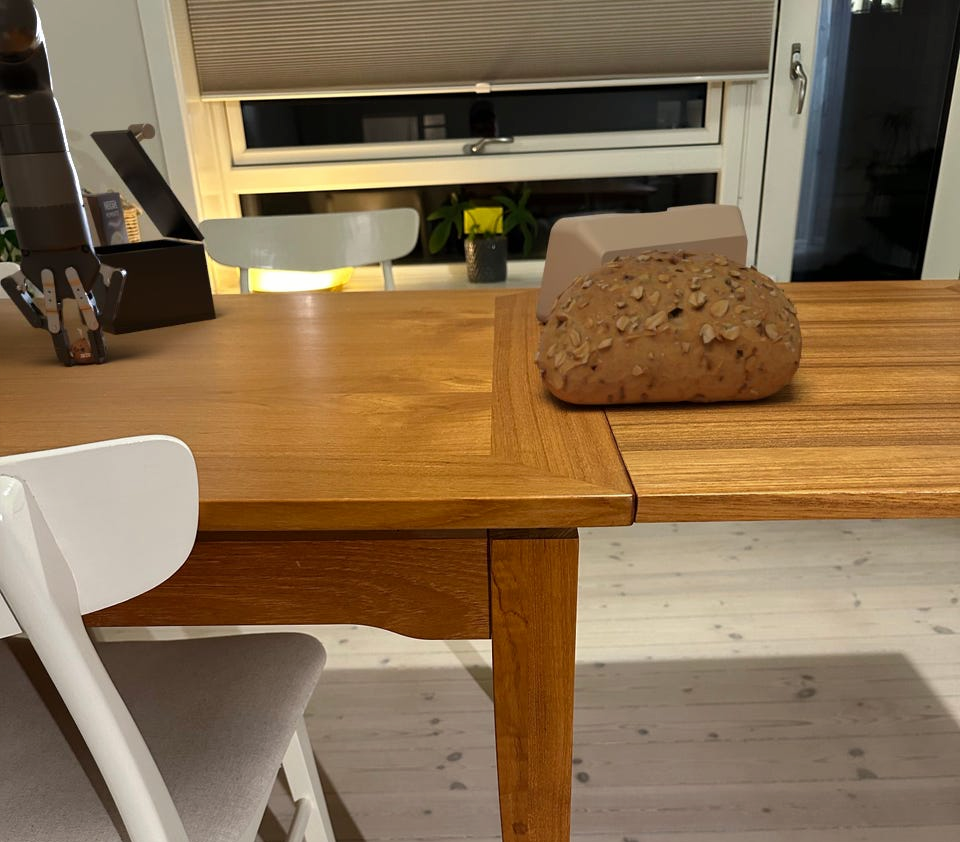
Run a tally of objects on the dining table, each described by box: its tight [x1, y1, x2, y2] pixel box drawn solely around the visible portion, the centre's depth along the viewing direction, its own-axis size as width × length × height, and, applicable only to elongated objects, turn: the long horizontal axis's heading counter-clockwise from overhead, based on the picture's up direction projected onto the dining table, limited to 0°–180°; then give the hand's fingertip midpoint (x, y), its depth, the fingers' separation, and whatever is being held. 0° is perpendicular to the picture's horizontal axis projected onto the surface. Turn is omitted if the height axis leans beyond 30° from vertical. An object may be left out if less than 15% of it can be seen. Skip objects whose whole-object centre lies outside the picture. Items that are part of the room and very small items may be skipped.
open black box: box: [76, 238, 217, 335], centre depth 133 cm, size 15×13×10 cm
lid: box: [89, 122, 206, 243], centre depth 129 cm, size 15×13×5 cm
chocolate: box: [70, 328, 94, 364], centre depth 110 cm, size 3×2×4 cm
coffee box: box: [75, 191, 130, 315], centre depth 141 cm, size 9×6×16 cm
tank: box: [535, 203, 749, 324], centre depth 117 cm, size 25×16×12 cm, turn 119°
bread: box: [532, 249, 803, 406], centre depth 89 cm, size 24×21×12 cm
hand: (84, 362), depth 111 cm, fingers closed on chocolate, 2 cm apart
